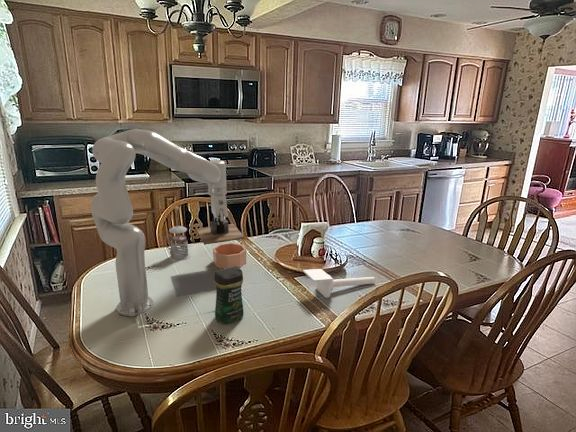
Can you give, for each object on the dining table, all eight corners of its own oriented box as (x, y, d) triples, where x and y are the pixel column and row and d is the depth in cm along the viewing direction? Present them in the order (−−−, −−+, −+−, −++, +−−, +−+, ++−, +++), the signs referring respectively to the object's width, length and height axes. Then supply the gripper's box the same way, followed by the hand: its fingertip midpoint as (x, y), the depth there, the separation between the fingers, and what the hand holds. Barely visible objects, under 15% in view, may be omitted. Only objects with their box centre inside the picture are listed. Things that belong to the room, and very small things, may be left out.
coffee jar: (222, 327, 129) (221, 277, 123) (212, 316, 135) (209, 268, 129) (247, 318, 135) (246, 270, 129) (236, 308, 141) (235, 261, 135)
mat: (223, 289, 153) (223, 288, 153) (177, 298, 146) (177, 296, 146) (213, 270, 169) (213, 269, 169) (170, 277, 162) (170, 276, 162)
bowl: (249, 266, 173) (249, 252, 171) (218, 271, 168) (218, 257, 166) (240, 255, 185) (239, 241, 183) (211, 259, 180) (210, 245, 178)
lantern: (193, 258, 181) (190, 207, 173) (169, 263, 175) (165, 211, 167) (186, 251, 189) (183, 202, 181) (162, 256, 182) (158, 206, 174)
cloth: (244, 238, 162) (244, 225, 160) (204, 244, 155) (203, 230, 153) (233, 225, 176) (232, 213, 175) (196, 230, 170) (195, 218, 168)
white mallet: (302, 269, 151) (368, 266, 164) (299, 290, 153) (365, 284, 167) (313, 280, 143) (382, 275, 156) (310, 301, 145) (378, 294, 159)
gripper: (231, 194, 154) (233, 236, 160) (221, 184, 168) (223, 224, 174) (213, 196, 151) (215, 239, 157) (204, 186, 165) (206, 226, 171)
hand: (219, 230), depth 165 cm, fingers closed on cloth, 3 cm apart
